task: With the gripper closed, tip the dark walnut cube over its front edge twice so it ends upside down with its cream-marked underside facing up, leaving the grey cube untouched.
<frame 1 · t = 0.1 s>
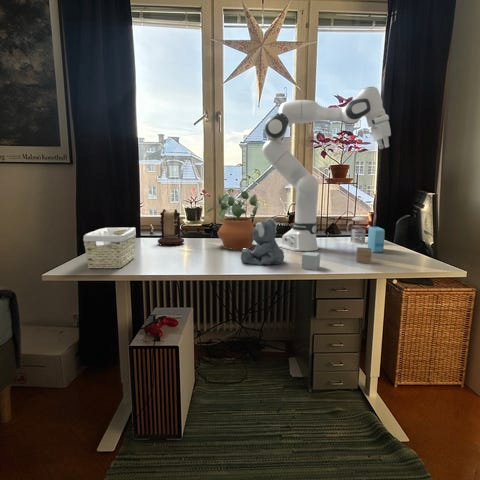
hand: (384, 148, 173), 52 cm above the table, tool tilted 20°, fingers open, 8 cm apart
grey cube: (310, 267, 149), on the table
walnut cube: (363, 261, 159), on the table
potted plant: (232, 247, 193), on the table
french press: (356, 243, 204), on the table
storage basket: (113, 263, 156), on the table
koala plush: (265, 262, 158), on the table
scroll: (171, 244, 200), on the table
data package: (375, 251, 182), on the table
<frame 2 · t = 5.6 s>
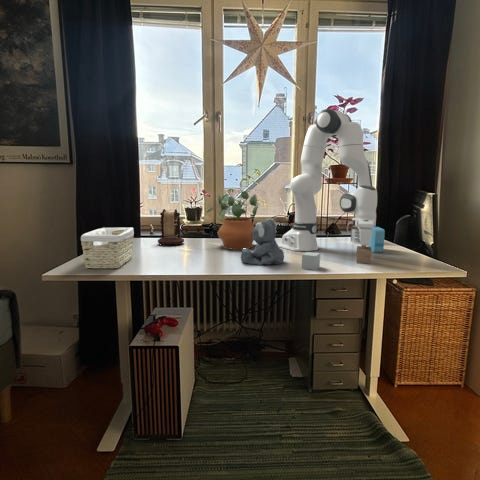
hand: (363, 251, 162), 4 cm above the table, tool pointing down, fingers closed
walnut cube: (363, 260, 159), on the table, tilted 7°, touching gripper
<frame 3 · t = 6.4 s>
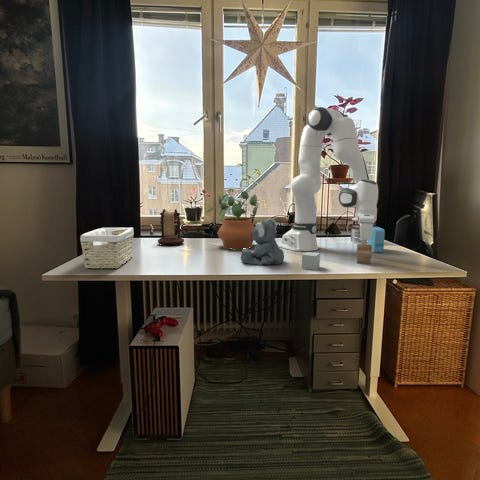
hand: (364, 246, 159), 7 cm above the table, tool pointing down, fingers closed
walnut cube: (363, 259, 158), point 1 cm above the table, tilted 26°, touching gripper
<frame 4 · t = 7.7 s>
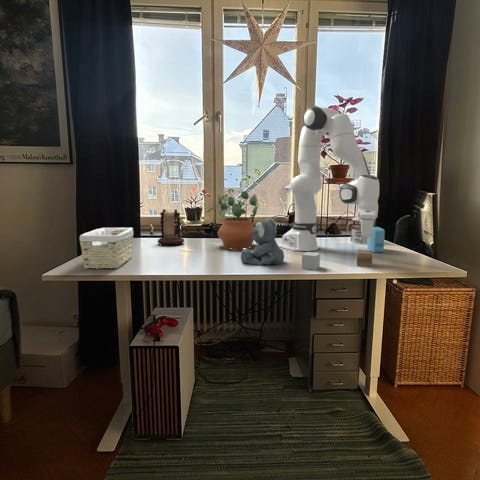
hand: (364, 244, 155), 9 cm above the table, tool pointing down, fingers closed
walnut cube: (363, 256, 155), point 3 cm above the table, tilted 90°
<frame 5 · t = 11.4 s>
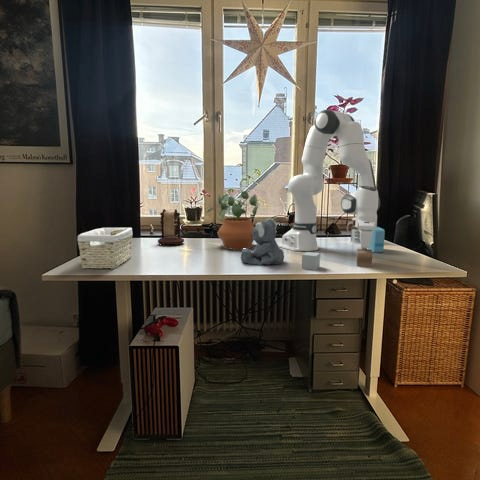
hand: (363, 254, 157), 4 cm above the table, tool pointing down, fingers closed
walnut cube: (363, 255, 155), point 4 cm above the table, tilted 95°, touching gripper
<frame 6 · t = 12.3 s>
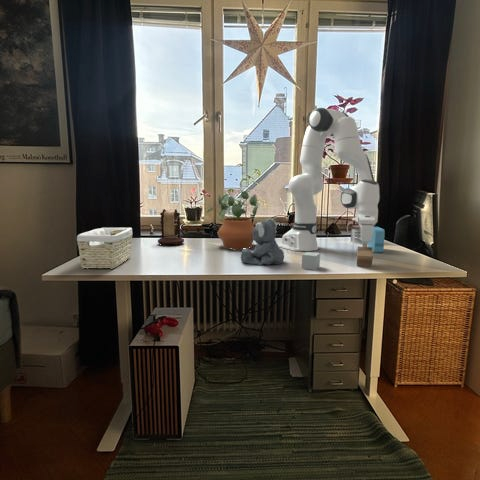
hand: (364, 249, 154), 7 cm above the table, tool pointing down, fingers closed
walnut cube: (364, 252, 153), point 5 cm above the table, tilted 118°, touching gripper
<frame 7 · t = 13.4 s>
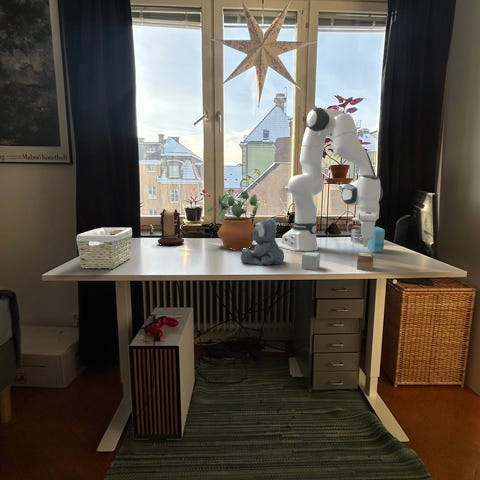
hand: (365, 246, 149), 9 cm above the table, tool pointing down, fingers closed
walnut cube: (365, 254, 146), point 6 cm above the table, tilted 180°
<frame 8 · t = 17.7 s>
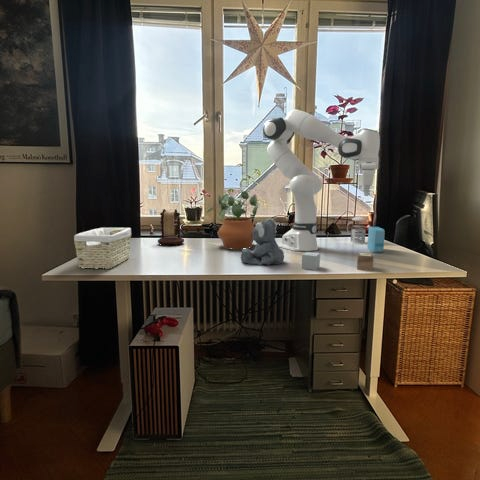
hand: (366, 195, 164), 29 cm above the table, tool pointing down, fingers closed
at the end: walnut cube tilted 180°; walnut cube point 5.9 cm above the table; walnut cube moved 13.3 cm from its start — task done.
